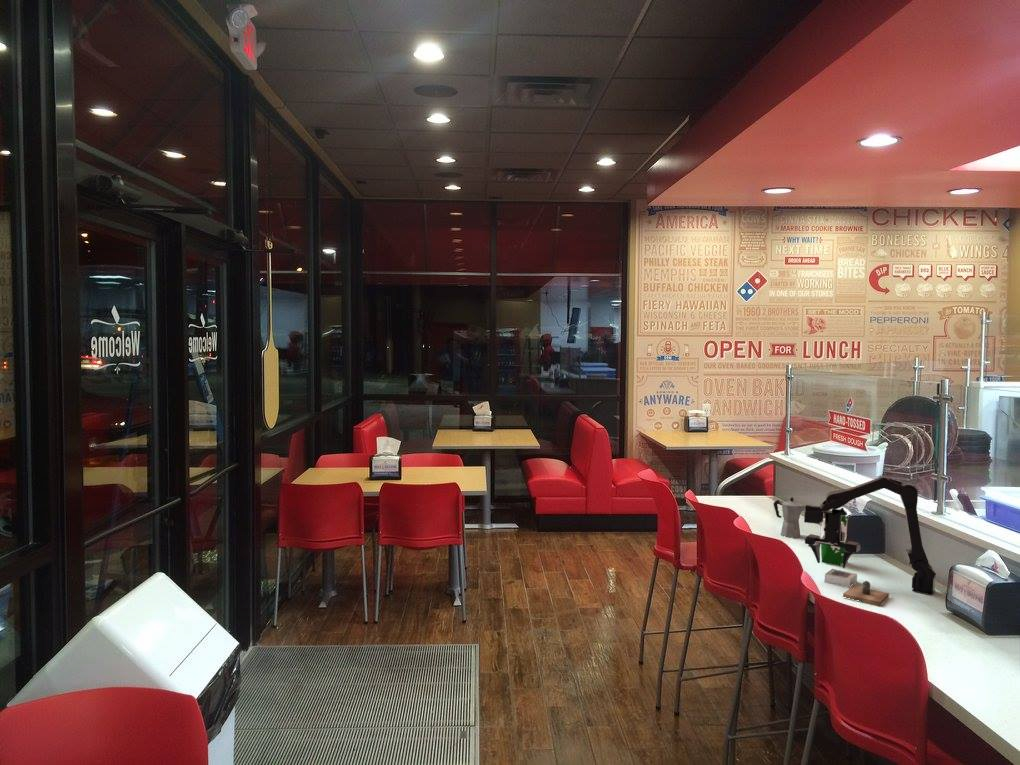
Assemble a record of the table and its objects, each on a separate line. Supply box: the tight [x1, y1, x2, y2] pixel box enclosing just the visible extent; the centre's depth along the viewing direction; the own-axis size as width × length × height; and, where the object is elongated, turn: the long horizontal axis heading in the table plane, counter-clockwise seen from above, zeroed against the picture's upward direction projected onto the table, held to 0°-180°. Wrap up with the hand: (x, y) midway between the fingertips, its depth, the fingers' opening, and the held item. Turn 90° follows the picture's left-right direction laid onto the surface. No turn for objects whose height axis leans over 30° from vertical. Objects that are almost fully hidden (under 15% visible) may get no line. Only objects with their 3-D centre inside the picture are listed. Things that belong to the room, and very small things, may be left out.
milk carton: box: [820, 515, 848, 567], centre depth 299 cm, size 9×9×20 cm
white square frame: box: [824, 568, 858, 588], centre depth 275 cm, size 9×9×3 cm
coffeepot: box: [773, 497, 805, 539], centre depth 341 cm, size 15×9×18 cm, turn 44°
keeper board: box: [842, 580, 890, 607], centre depth 258 cm, size 12×12×6 cm
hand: (831, 565), depth 277 cm, fingers open, 9 cm apart
